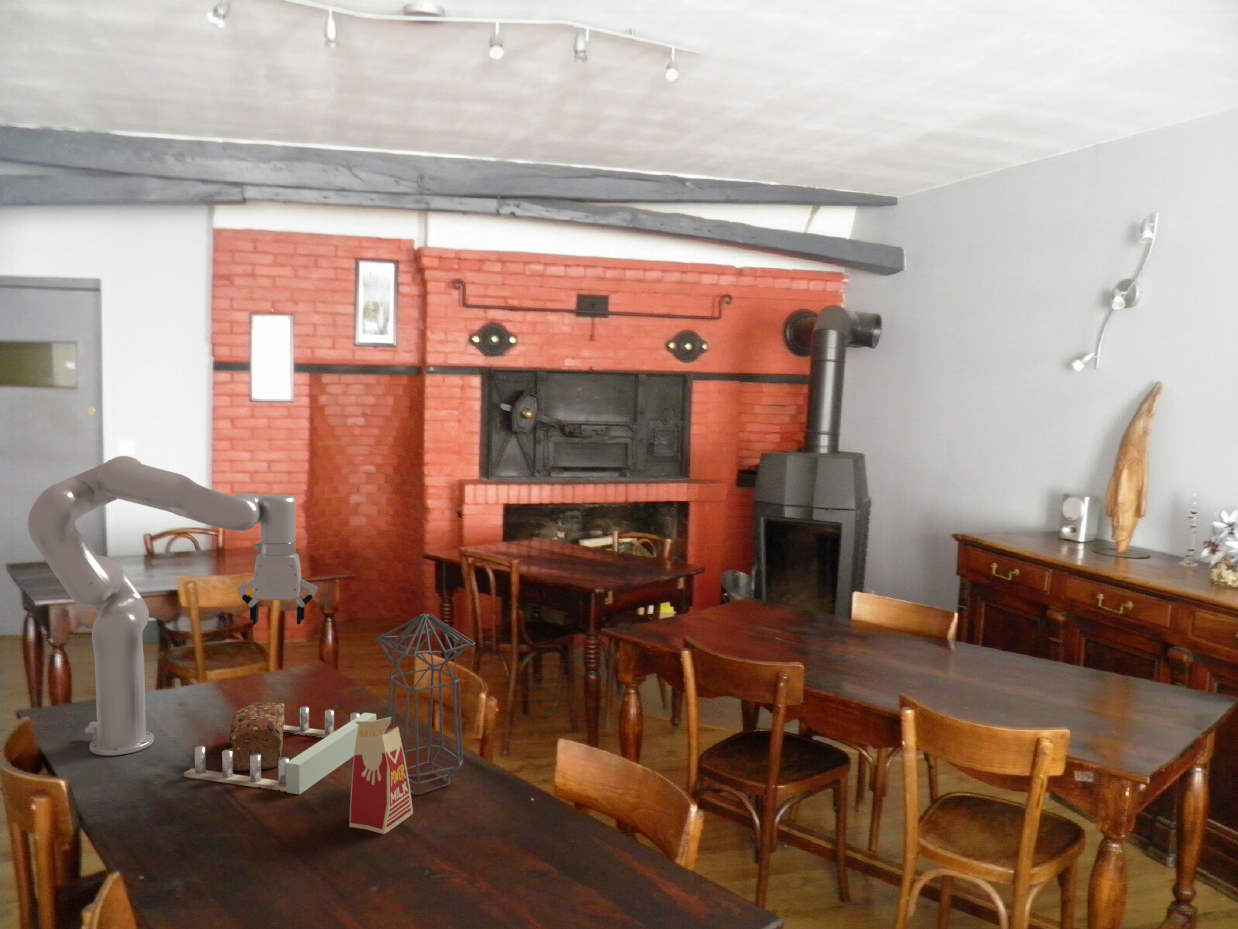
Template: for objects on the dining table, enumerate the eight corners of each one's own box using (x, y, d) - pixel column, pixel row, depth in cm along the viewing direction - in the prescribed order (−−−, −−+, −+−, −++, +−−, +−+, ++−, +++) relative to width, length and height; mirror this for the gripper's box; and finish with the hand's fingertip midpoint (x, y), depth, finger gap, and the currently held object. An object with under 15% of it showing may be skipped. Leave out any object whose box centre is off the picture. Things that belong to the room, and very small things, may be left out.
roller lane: (182, 777, 194) (182, 748, 194) (272, 726, 223) (272, 701, 222) (299, 794, 187) (299, 765, 187) (376, 739, 216) (376, 714, 216)
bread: (282, 769, 199) (281, 723, 199) (227, 774, 196) (226, 727, 196) (286, 737, 217) (285, 694, 216) (236, 741, 214) (235, 697, 213)
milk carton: (413, 813, 180) (413, 710, 178) (385, 835, 172) (385, 727, 170) (371, 805, 183) (371, 704, 181) (342, 826, 174) (342, 720, 173)
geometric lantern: (372, 780, 195) (371, 611, 192) (441, 762, 204) (441, 601, 201) (406, 808, 182) (406, 628, 179) (478, 787, 192) (479, 617, 189)
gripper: (234, 551, 211) (233, 627, 213) (315, 552, 214) (314, 627, 216) (241, 546, 219) (241, 619, 220) (320, 546, 222) (319, 619, 223)
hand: (277, 623), depth 218 cm, fingers open, 9 cm apart
